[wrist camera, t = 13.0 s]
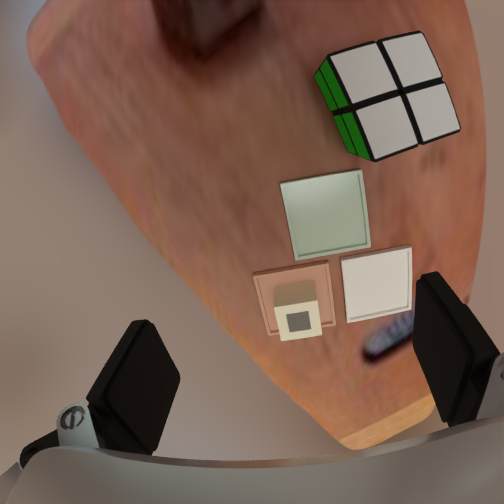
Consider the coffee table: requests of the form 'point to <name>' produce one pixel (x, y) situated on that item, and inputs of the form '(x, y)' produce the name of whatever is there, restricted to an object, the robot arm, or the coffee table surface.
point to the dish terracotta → (294, 274)
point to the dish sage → (327, 214)
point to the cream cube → (297, 310)
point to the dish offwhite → (377, 283)
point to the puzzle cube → (387, 96)
